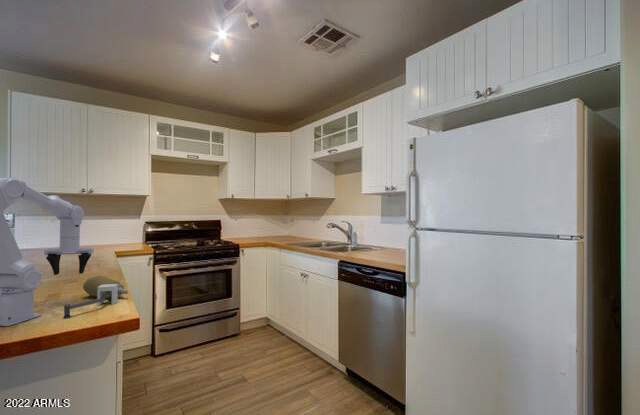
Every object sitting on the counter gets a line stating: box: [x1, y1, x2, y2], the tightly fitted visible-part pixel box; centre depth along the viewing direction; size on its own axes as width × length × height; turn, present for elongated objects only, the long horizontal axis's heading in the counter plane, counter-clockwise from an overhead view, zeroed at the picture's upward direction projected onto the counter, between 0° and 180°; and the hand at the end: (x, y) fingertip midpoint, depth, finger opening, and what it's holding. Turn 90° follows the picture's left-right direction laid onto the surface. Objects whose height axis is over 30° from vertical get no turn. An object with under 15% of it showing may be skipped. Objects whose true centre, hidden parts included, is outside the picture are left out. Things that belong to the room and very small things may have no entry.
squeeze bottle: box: [82, 275, 129, 299], centre depth 119 cm, size 8×8×18 cm
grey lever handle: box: [62, 291, 112, 319], centre depth 106 cm, size 20×6×4 cm, turn 171°
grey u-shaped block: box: [96, 284, 119, 306], centre depth 112 cm, size 4×5×6 cm
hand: (69, 273), depth 113 cm, fingers open, 7 cm apart
